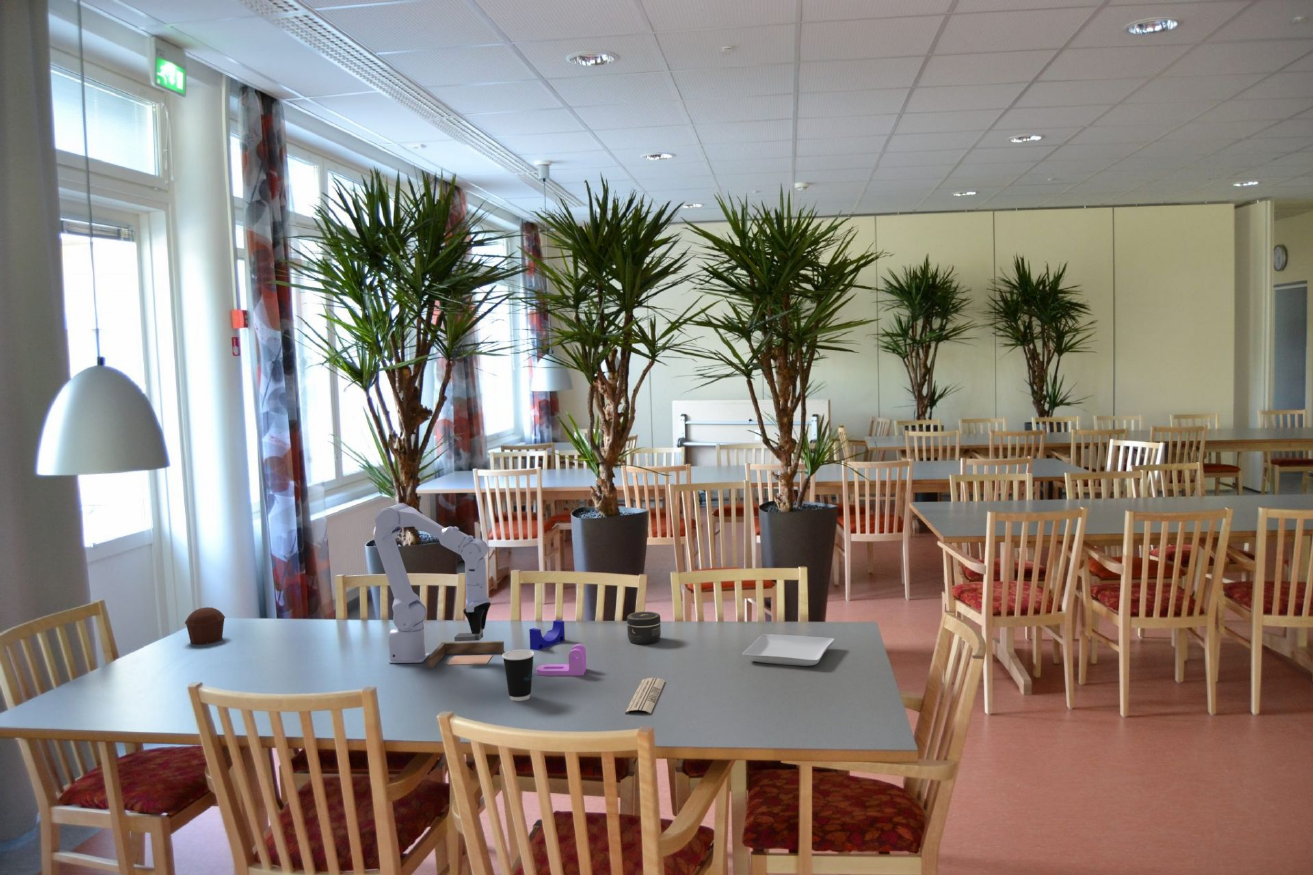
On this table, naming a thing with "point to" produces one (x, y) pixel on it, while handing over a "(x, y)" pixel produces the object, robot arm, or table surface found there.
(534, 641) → the blue cradle block
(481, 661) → the mat
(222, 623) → the muffin
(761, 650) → the salad plate
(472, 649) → the corner walls
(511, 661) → the dixie cup
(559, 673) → the bracket
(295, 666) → the table surface
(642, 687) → the newspaper
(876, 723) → the table surface
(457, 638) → the angle bracket
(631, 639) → the jar
